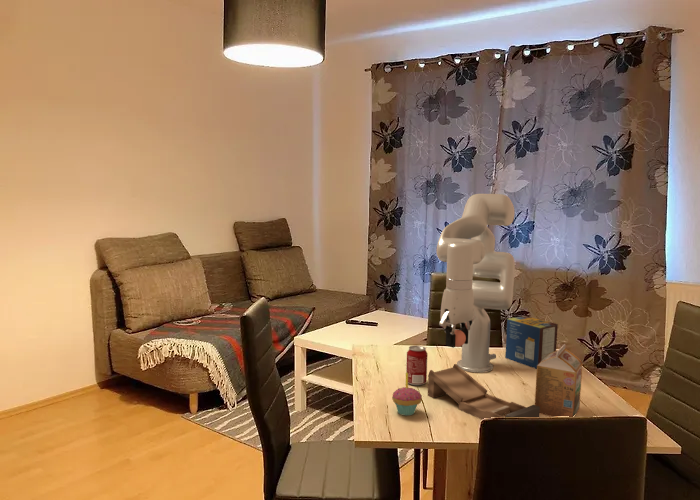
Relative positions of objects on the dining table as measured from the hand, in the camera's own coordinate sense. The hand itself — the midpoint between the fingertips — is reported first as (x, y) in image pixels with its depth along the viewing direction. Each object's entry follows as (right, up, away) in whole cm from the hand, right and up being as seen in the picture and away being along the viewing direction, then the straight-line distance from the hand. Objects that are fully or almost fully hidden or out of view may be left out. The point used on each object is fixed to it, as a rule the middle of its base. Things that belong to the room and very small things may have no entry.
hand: (456, 343), depth 168 cm
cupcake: (-15, -19, -5) cm, 25 cm away
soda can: (-10, -16, +20) cm, 27 cm away
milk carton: (+29, -20, -1) cm, 35 cm away
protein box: (+36, -14, +45) cm, 59 cm away
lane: (+7, -19, 0) cm, 20 cm away
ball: (0, -1, 0) cm, 1 cm away
